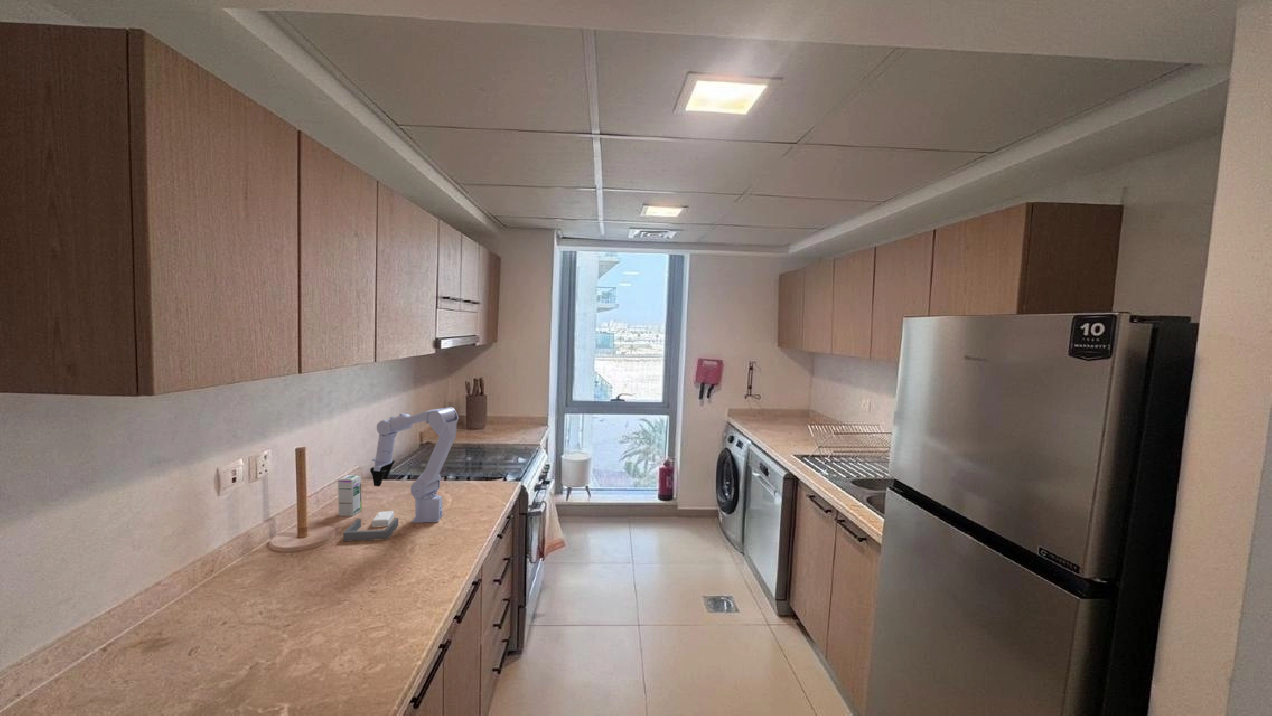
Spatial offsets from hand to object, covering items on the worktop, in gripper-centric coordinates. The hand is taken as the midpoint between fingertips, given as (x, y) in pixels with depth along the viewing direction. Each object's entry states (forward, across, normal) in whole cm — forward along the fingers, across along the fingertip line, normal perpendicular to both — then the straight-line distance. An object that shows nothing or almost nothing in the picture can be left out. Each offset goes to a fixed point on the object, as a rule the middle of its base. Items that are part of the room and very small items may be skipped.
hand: (380, 481), depth 191 cm
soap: (+11, +12, +6) cm, 17 cm away
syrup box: (+14, +2, -9) cm, 16 cm away
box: (+10, +21, +6) cm, 23 cm away
